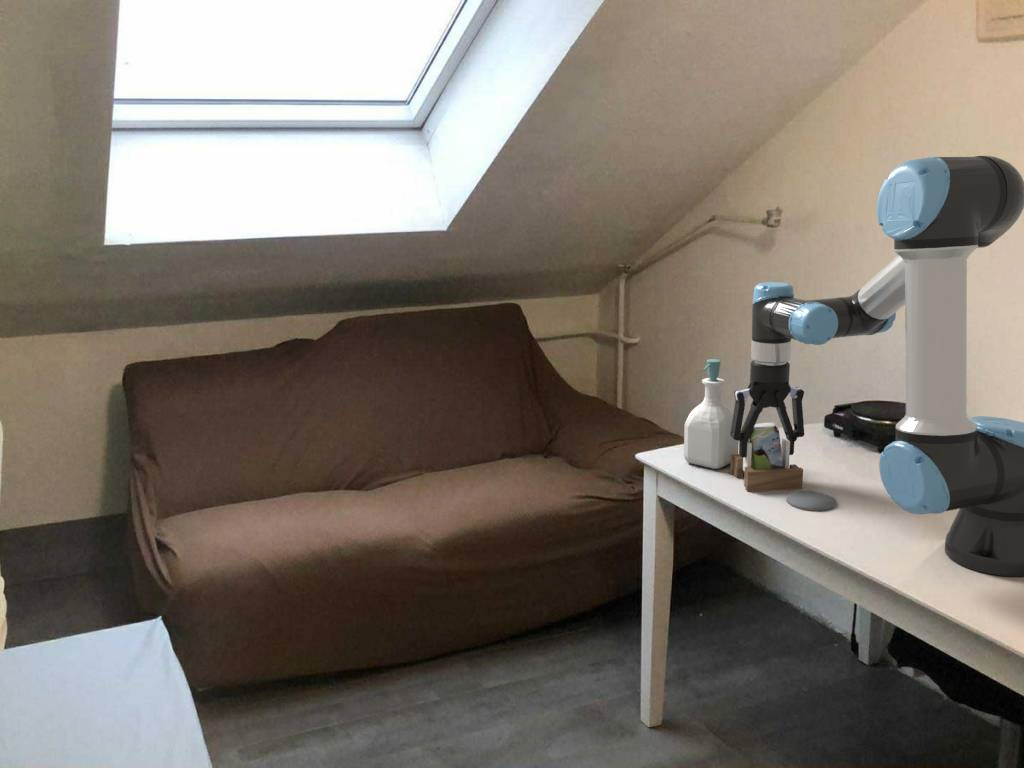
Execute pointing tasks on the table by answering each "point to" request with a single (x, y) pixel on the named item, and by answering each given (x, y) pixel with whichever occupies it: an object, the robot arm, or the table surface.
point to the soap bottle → (710, 426)
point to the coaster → (811, 501)
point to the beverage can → (766, 447)
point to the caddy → (766, 476)
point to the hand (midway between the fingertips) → (765, 470)
